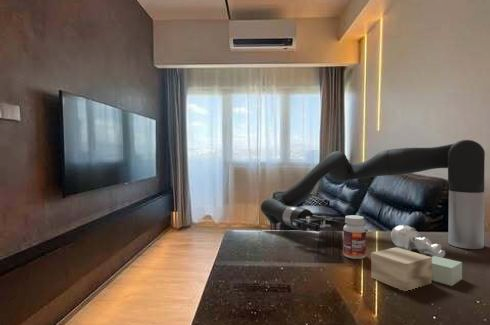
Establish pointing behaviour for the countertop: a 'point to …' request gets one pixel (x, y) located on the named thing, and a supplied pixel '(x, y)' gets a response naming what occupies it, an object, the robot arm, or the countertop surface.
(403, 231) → the figurine
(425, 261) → the oak block
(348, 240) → the pill bottle
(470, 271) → the countertop surface
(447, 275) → the sage block
